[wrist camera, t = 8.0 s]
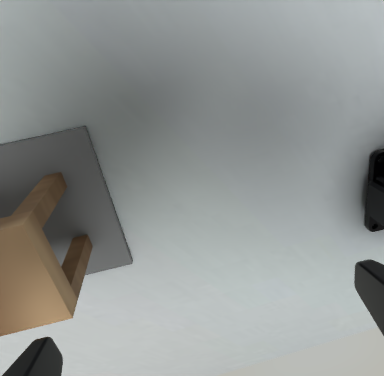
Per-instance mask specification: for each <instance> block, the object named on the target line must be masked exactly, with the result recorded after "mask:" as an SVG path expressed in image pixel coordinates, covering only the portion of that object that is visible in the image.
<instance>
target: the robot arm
mask: <svg viewBox="0 0 384 376" xmlns="http://www.w3.org/2000/svg"><path fill="white" fill-rule="evenodd" d="M380 156H381V158H380V159H379V157H380ZM378 159H379V160H378ZM373 224H374V225H373ZM372 225H373V226H372ZM365 227H366V228H367V229H368V230H369V231H371V232H375V231H379V230H383V229H384V149H383V150H378V151H376V152H374V153H373V154H372V156H371V160H370V172H369V184H368V194H367V206H366V222H365ZM354 283H355V288H356V291H357V292H358V294H359V296H360V297H361V299H362V301H363V302H364V304H365V306H366V307H367V309H368V311H369V312H370V314H371V316H372V317H373V319H374V321H375V322H376V324H377V326H378V327H379V329H380V330H381V332H382V334H383V335H384V265H383V264H381V263H378V262H376V261H374V260H364V261H360V262H357V263H356V265H355V281H354ZM62 365H63V358H62V354H61V352H60V351H59V349H58V348H57V346H56V344H55V343H54V341H53V339H52V338H50V337H44V338H40V339H36V340H34V341H33V342H32V343H31V344H30V345H29V346H28V348H27V349H26V350H25V351H24V352H23V353H22V354H21V355H20V356H19V357H18V359H17V360H16V361H15V362H14V363H13V364H12V365H11V366H10V367H9V369H8V370H7V371H6V372H5V373H4V374H3V375H2V376H61V373H62Z"/></svg>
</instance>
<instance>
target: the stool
mask: <svg viewBox="0 0 384 376" xmlns="http://www.w3.org/2000/svg"><path fill="white" fill-rule="evenodd" d="M66 188H67V185H66V182H65V180H64V178H63V175H62V173H61V172H58V173H54V174H49V175H45V176H44V177H43V178H42V179H41V180H40V182H39V183H38V184H37V185H36V186H35V188H34V189H33V190H32V191H31V192H30V193H29V195H28V196H27V197H26V198H25V199H24V201H23V202H22V203H21V204H20V205H19V207H18V208H17V209H16V210H15V211H14V213H13V214H12V215H11V216H8V217H4V218H0V336H3V335H7V334H11V333H15V332H19V331H23V330H27V329H31V328H35V327H39V326H43V325H47V324H51V323H55V322H59V321H63V320H67V319H71V318H73V315H74V311H75V308H76V304H77V300H78V297H79V293H80V290H81V286H82V283H83V279H84V276H85V272H86V269H87V265H88V262H89V258H90V255H91V251H92V248H93V246H92V243H91V241H90V239H89V236H88V235H83V236H79V237H75V238H73V239H72V241H71V244H70V246H69V249H68V251H67V254H66V256H65V259H64V261H63V264H62V266H60V264H59V262H58V260H57V258H56V256H55V254H54V252H53V250H52V248H51V246H50V244H49V242H48V240H47V238H46V236H45V234H44V232H43V230H42V228H43V226H44V225H45V223H46V221H47V220H48V218H49V216H50V215H51V213H52V211H53V210H54V208H55V206H56V205H57V203H58V201H59V200H60V198H61V196H62V195H63V193H64V191H65V190H66Z"/></svg>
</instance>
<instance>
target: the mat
mask: <svg viewBox="0 0 384 376" xmlns="http://www.w3.org/2000/svg"><path fill="white" fill-rule="evenodd" d="M58 172H61V173H62V175H63V178H64V180H65V182H66V185H67V188H66V190H65V191H64V193H63V195H62V196H61V198H60V200H59V201H58V203H57V205H56V206H55V208H54V210H53V211H52V213H51V215H50V216H49V218H48V220H47V221H46V223H45V225H44V226H43V228H42V230H43V232H44V234H45V236H46V238H47V240H48V242H49V244H50V246H51V248H52V250H53V252H54V254H55V256H56V258H57V260H58V262H59V264H60V266H62V264H63V261H64V259H65V256H66V254H67V251H68V249H69V246H70V244H71V241H72V239H73V238H75V237H79V236H83V235H88V236H89V239H90V241H91V243H92V246H93V248H92V251H91V255H90V258H89V262H88V265H87V269H86V272H85V275H88V274H92V273H96V272H100V271H104V270H108V269H113V268H117V267H121V266H125V265H129V264H132V262H133V260H132V257H131V254H130V251H129V248H128V246H127V243H126V240H125V237H124V234H123V231H122V229H121V226H120V223H119V220H118V217H117V214H116V212H115V209H114V206H113V203H112V200H111V197H110V195H109V192H108V189H107V186H106V183H105V180H104V177H103V175H102V172H101V169H100V166H99V163H98V160H97V158H96V155H95V152H94V149H93V146H92V143H91V141H90V138H89V135H88V132H87V129H86V126H84V127H79V128H74V129H70V130H65V131H61V132H56V133H52V134H47V135H43V136H38V137H34V138H29V139H24V140H20V141H15V142H11V143H6V144H2V145H0V218H4V217H8V216H11V215H12V214H13V213H14V211H15V210H16V209H17V208H18V207H19V205H20V204H21V203H22V202H23V201H24V199H25V198H26V197H27V196H28V195H29V193H30V192H31V191H32V190H33V189H34V188H35V186H36V185H37V184H38V183H39V182H40V180H41V179H42V178H43V177H44V176H45V175H49V174H54V173H58Z"/></svg>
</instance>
